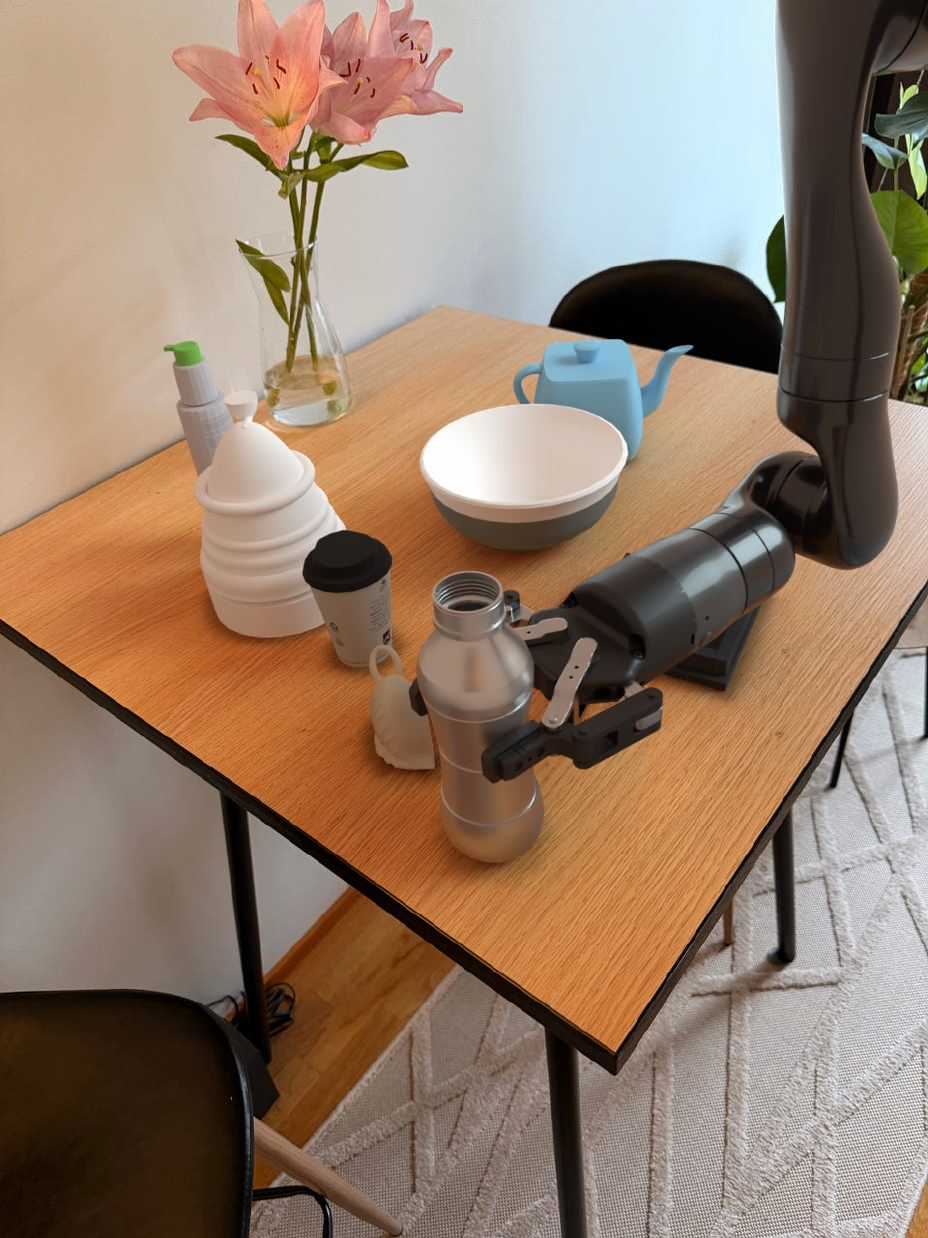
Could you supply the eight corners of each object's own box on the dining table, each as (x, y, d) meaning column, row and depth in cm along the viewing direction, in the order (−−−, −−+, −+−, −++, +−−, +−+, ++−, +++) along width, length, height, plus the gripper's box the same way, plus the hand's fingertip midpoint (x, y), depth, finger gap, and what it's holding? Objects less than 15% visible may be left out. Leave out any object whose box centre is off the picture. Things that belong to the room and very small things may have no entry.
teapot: (693, 470, 92) (702, 362, 84) (515, 478, 94) (509, 373, 86) (679, 414, 101) (686, 313, 94) (517, 422, 103) (512, 323, 96)
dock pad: (764, 598, 75) (767, 576, 74) (725, 691, 67) (728, 668, 66) (625, 568, 80) (626, 546, 79) (573, 651, 72) (573, 629, 71)
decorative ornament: (377, 779, 64) (365, 726, 60) (373, 697, 70) (362, 645, 67) (434, 771, 64) (426, 718, 60) (425, 690, 70) (417, 638, 67)
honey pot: (224, 558, 87) (170, 382, 75) (358, 543, 87) (323, 364, 75) (204, 645, 77) (138, 457, 65) (355, 628, 77) (315, 437, 65)
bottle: (241, 525, 91) (185, 332, 79) (274, 536, 89) (221, 339, 77) (210, 548, 88) (147, 351, 76) (243, 559, 86) (184, 359, 74)
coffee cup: (421, 655, 73) (405, 554, 67) (343, 689, 71) (319, 588, 65) (384, 611, 78) (366, 513, 72) (310, 642, 76) (284, 543, 70)
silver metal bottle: (515, 893, 55) (493, 648, 43) (424, 850, 59) (377, 609, 46) (563, 818, 60) (555, 573, 47) (475, 781, 63) (445, 542, 50)
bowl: (656, 561, 80) (660, 480, 75) (450, 603, 78) (440, 523, 73) (588, 462, 95) (588, 389, 90) (413, 495, 93) (403, 422, 87)
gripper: (578, 514, 61) (369, 624, 53) (753, 612, 51) (527, 762, 44) (579, 602, 65) (387, 714, 58) (739, 707, 56) (534, 856, 49)
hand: (448, 734), depth 51 cm, fingers closed on silver metal bottle, 6 cm apart
